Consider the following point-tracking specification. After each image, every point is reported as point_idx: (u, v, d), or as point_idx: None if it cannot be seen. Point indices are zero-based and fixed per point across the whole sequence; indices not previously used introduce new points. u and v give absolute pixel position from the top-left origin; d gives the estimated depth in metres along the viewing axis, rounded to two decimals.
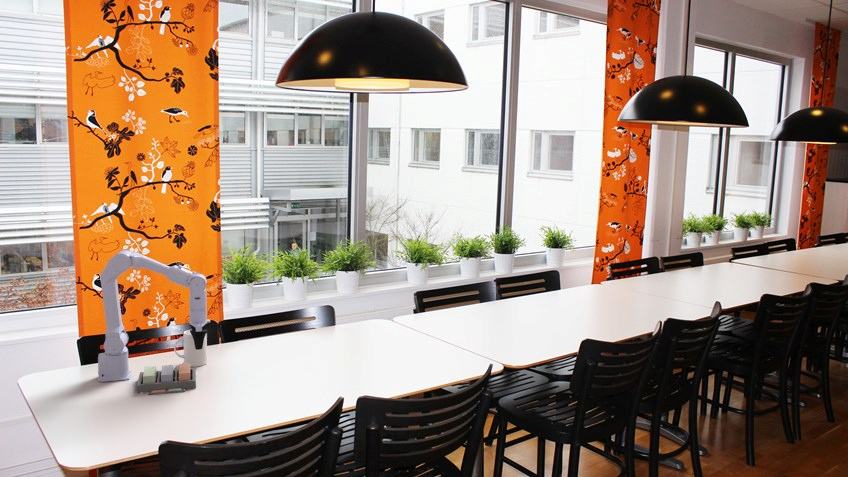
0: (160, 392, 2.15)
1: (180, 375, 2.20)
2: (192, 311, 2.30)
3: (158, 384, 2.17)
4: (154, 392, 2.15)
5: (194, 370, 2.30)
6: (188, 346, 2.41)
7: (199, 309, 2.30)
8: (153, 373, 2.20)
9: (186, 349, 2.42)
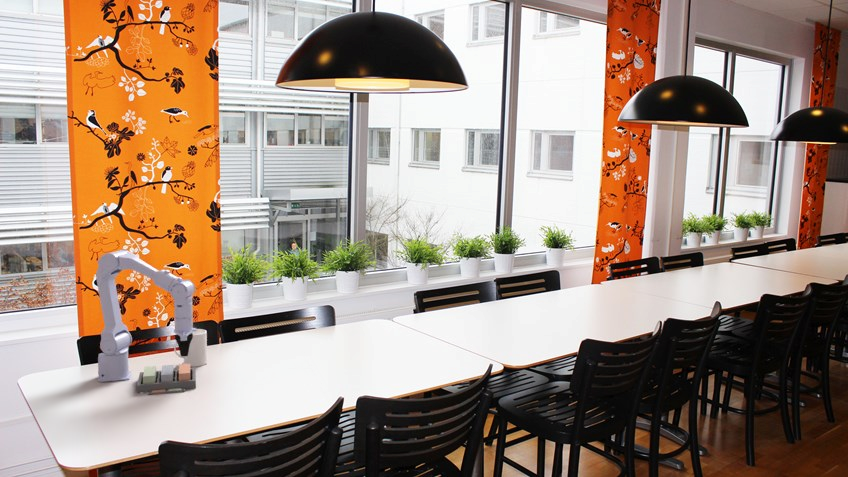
0: (160, 392, 2.15)
1: (180, 375, 2.20)
2: (177, 319, 2.20)
3: (158, 384, 2.17)
4: (154, 392, 2.15)
5: (194, 370, 2.30)
6: None
7: (181, 317, 2.20)
8: (153, 373, 2.20)
9: None
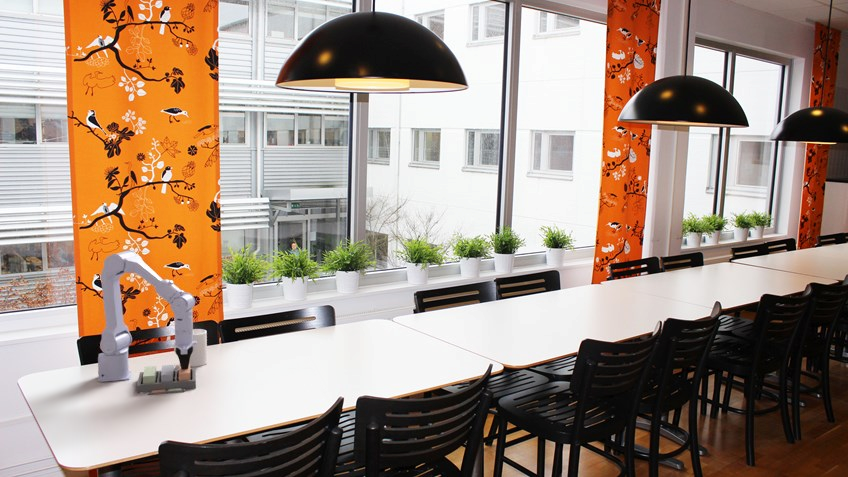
0: (160, 392, 2.15)
1: (180, 375, 2.20)
2: (177, 333, 2.21)
3: (158, 384, 2.17)
4: (154, 392, 2.15)
5: (194, 370, 2.30)
6: None
7: (181, 331, 2.21)
8: (153, 373, 2.20)
9: None
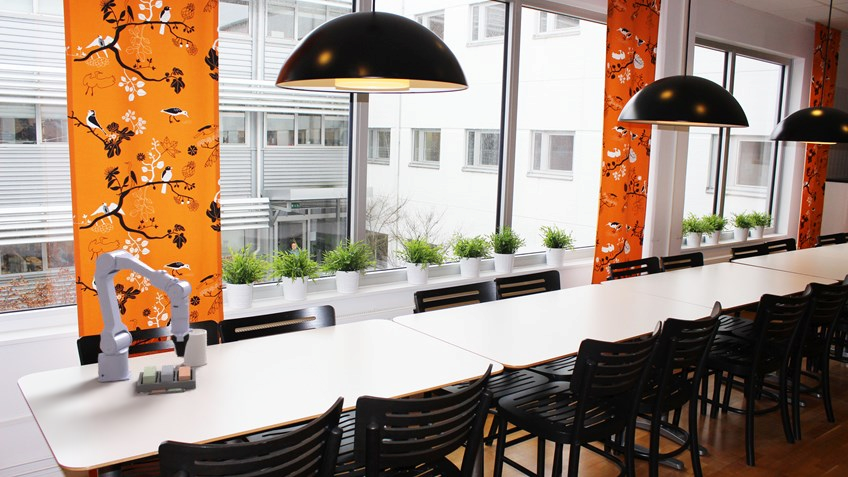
0: (160, 392, 2.15)
1: (180, 378, 2.20)
2: (173, 320, 2.20)
3: (158, 384, 2.17)
4: (154, 392, 2.15)
5: (194, 370, 2.30)
6: (188, 346, 2.41)
7: (177, 318, 2.20)
8: (153, 373, 2.20)
9: (186, 349, 2.42)
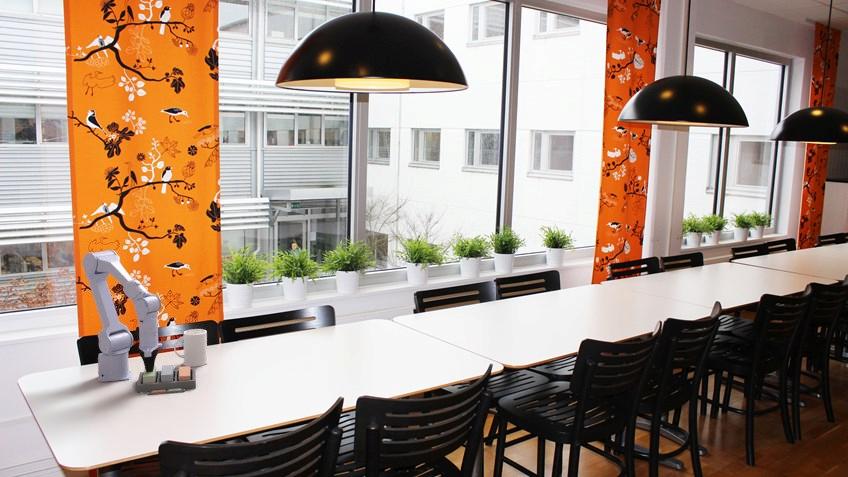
0: (160, 392, 2.15)
1: (180, 378, 2.20)
2: (142, 335, 2.17)
3: (158, 384, 2.17)
4: (154, 392, 2.15)
5: (194, 370, 2.30)
6: (188, 346, 2.41)
7: (143, 333, 2.17)
8: (153, 373, 2.20)
9: (186, 349, 2.42)
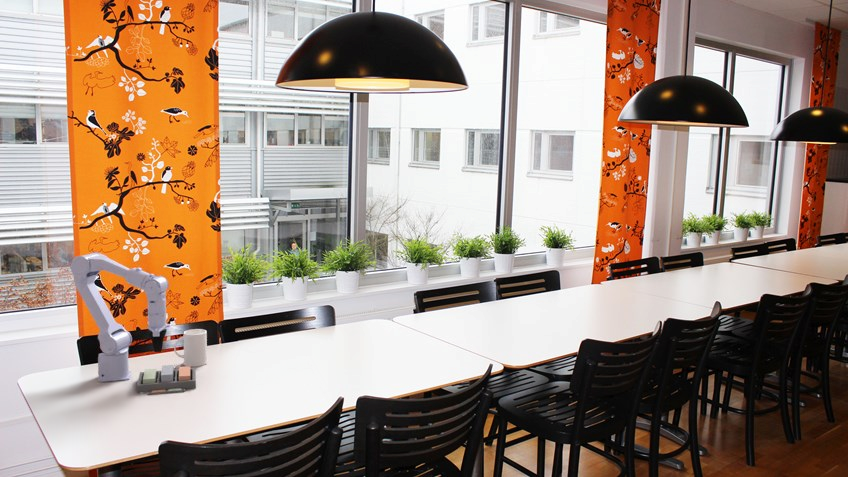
0: (160, 392, 2.15)
1: (180, 378, 2.20)
2: (150, 315, 2.21)
3: (158, 384, 2.17)
4: (154, 392, 2.15)
5: (194, 370, 2.30)
6: (188, 346, 2.41)
7: (154, 313, 2.21)
8: (153, 376, 2.20)
9: (186, 349, 2.42)
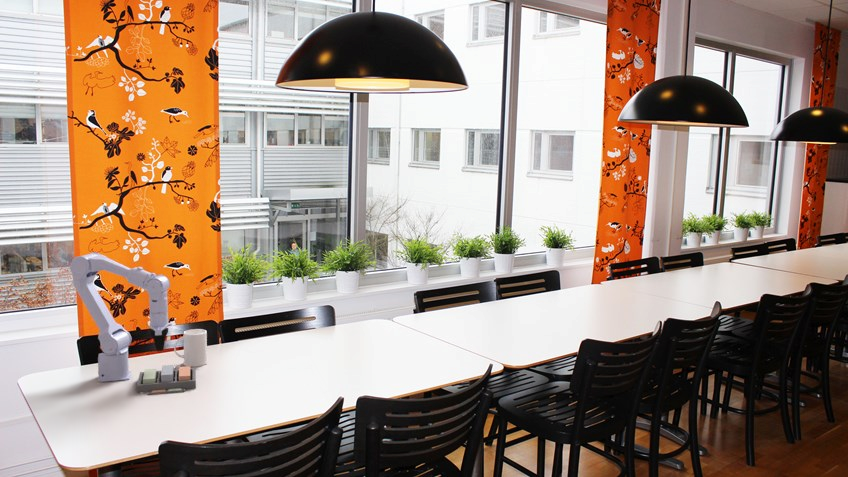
0: (160, 392, 2.15)
1: (180, 378, 2.20)
2: (152, 314, 2.22)
3: (158, 384, 2.17)
4: (154, 392, 2.15)
5: (194, 370, 2.30)
6: (188, 346, 2.41)
7: (156, 312, 2.22)
8: (153, 376, 2.20)
9: (186, 349, 2.42)
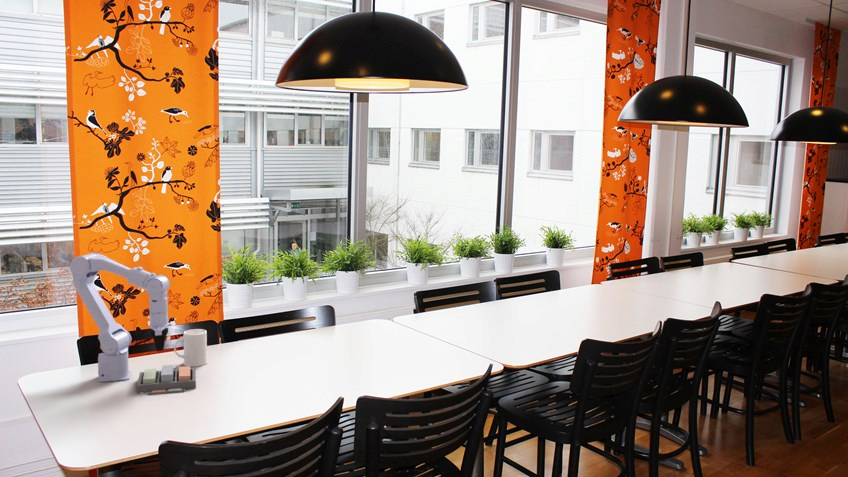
0: (160, 392, 2.15)
1: (180, 378, 2.20)
2: (152, 314, 2.22)
3: (158, 384, 2.17)
4: (154, 392, 2.15)
5: (194, 370, 2.30)
6: (188, 346, 2.41)
7: (156, 312, 2.22)
8: (153, 376, 2.20)
9: (186, 349, 2.42)
